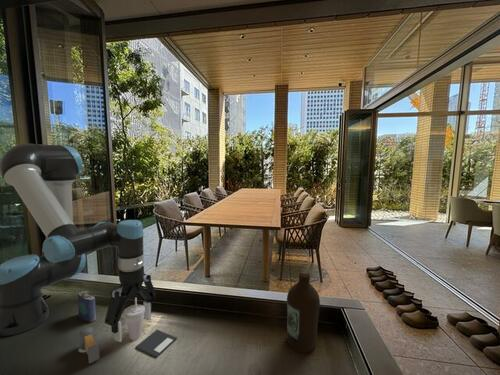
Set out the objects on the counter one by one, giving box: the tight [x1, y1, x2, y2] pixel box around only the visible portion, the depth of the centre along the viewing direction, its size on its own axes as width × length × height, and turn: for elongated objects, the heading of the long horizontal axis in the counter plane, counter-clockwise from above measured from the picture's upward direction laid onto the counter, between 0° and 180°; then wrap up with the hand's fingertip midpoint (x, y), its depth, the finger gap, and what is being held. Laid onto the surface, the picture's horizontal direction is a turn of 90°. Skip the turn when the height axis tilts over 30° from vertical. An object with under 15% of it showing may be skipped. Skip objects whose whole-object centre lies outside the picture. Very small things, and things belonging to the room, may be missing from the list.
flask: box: [77, 290, 97, 323], centre depth 93 cm, size 9×3×11 cm, turn 61°
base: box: [77, 339, 98, 354], centre depth 79 cm, size 5×5×1 cm
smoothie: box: [123, 296, 145, 341], centre depth 84 cm, size 6×6×14 cm
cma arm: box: [79, 326, 100, 364], centre depth 76 cm, size 11×4×5 cm, turn 44°
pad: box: [135, 329, 178, 359], centre depth 81 cm, size 9×9×1 cm
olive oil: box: [286, 268, 321, 354], centre depth 82 cm, size 11×11×25 cm
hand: (133, 329), depth 84 cm, fingers open, 11 cm apart
